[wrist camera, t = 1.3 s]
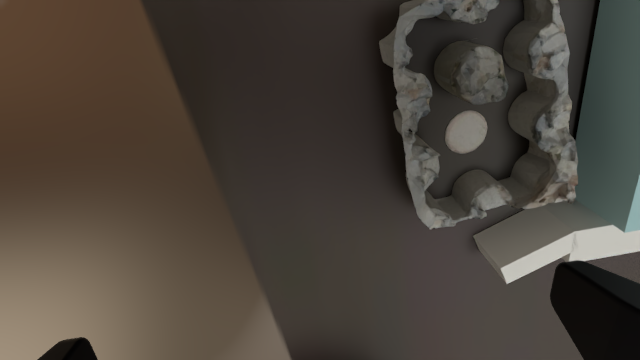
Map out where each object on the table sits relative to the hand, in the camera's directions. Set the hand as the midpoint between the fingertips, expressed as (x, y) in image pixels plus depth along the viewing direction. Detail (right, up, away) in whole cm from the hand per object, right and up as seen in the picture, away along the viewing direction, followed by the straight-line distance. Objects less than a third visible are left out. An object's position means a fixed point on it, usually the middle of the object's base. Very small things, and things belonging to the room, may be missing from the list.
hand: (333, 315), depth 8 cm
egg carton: (+6, +7, +12) cm, 15 cm away
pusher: (+13, +7, +12) cm, 19 cm away
